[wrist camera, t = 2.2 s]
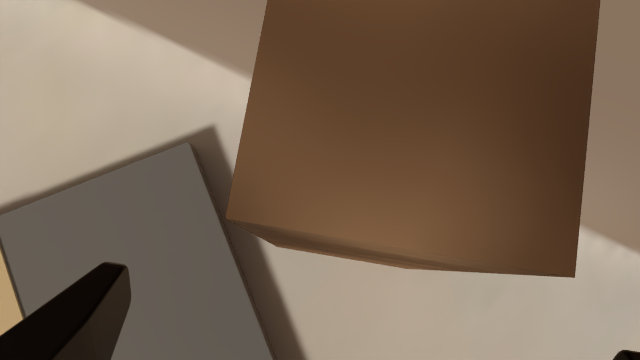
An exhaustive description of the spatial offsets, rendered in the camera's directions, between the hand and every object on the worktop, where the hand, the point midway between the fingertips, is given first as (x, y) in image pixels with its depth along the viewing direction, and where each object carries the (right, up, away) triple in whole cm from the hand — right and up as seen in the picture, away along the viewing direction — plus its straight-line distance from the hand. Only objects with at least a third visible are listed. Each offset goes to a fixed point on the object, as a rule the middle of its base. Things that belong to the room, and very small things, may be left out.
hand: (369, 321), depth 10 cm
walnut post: (0, +2, +11) cm, 11 cm away
